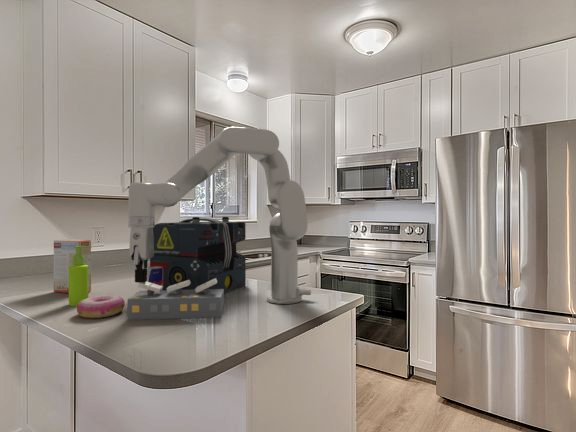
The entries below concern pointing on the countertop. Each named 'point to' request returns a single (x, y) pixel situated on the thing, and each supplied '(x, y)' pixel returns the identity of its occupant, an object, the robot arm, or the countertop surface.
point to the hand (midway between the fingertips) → (140, 281)
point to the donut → (100, 306)
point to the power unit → (200, 253)
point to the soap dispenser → (78, 278)
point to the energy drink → (155, 275)
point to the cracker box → (69, 262)
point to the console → (175, 304)
